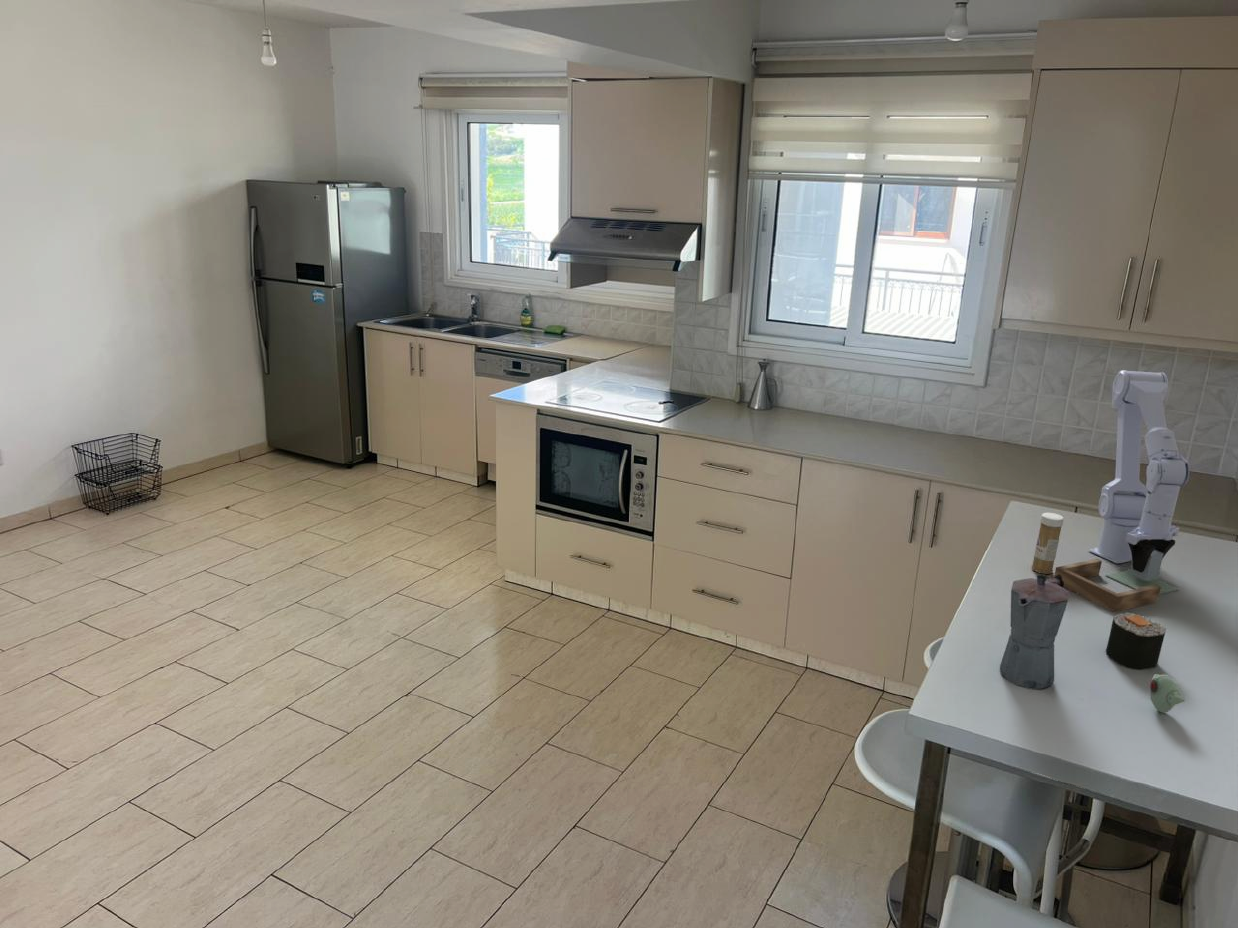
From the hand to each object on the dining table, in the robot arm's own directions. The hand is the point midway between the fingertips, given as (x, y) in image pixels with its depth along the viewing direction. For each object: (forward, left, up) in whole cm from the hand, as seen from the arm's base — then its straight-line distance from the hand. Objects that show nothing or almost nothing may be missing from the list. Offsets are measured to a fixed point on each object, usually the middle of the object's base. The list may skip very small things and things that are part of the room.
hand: (1144, 569), depth 201 cm
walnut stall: (+12, 0, -3) cm, 12 cm away
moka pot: (+57, +19, -4) cm, 60 cm away
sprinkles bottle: (+16, -13, -4) cm, 21 cm away
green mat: (0, 0, -3) cm, 3 cm away
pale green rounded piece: (+45, +36, -4) cm, 58 cm away
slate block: (0, 0, -2) cm, 2 cm away
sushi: (+33, +22, -4) cm, 40 cm away
